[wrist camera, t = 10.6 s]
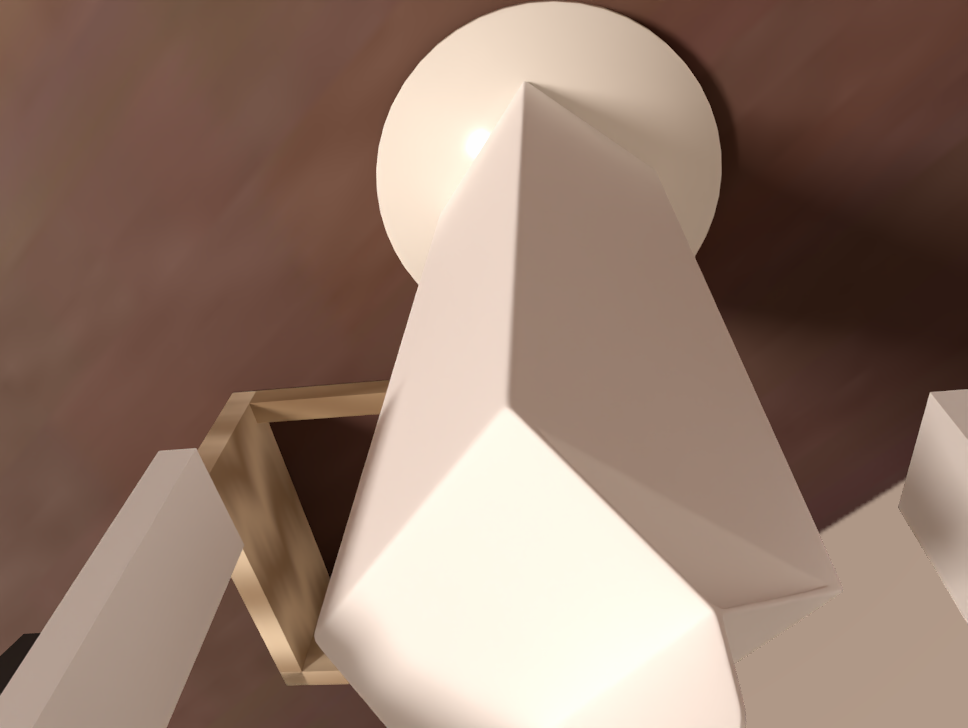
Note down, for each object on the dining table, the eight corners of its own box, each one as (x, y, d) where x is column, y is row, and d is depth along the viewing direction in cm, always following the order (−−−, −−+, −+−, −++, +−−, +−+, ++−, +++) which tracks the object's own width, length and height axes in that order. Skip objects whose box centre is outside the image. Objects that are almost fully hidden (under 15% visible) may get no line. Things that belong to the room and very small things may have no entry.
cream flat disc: (344, 28, 24) (338, 32, 24) (725, -28, 23) (731, -27, 22) (415, 341, 31) (412, 350, 31) (710, 315, 30) (714, 324, 29)
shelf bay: (232, 392, 34) (180, 478, 29) (562, 365, 32) (567, 452, 27) (316, 592, 42) (286, 685, 37) (582, 580, 40) (589, 678, 35)
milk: (657, 169, 26) (979, 838, 7) (561, 290, 29) (623, 978, 10) (520, 75, 24) (500, 629, 6) (434, 214, 27) (243, 866, 9)
